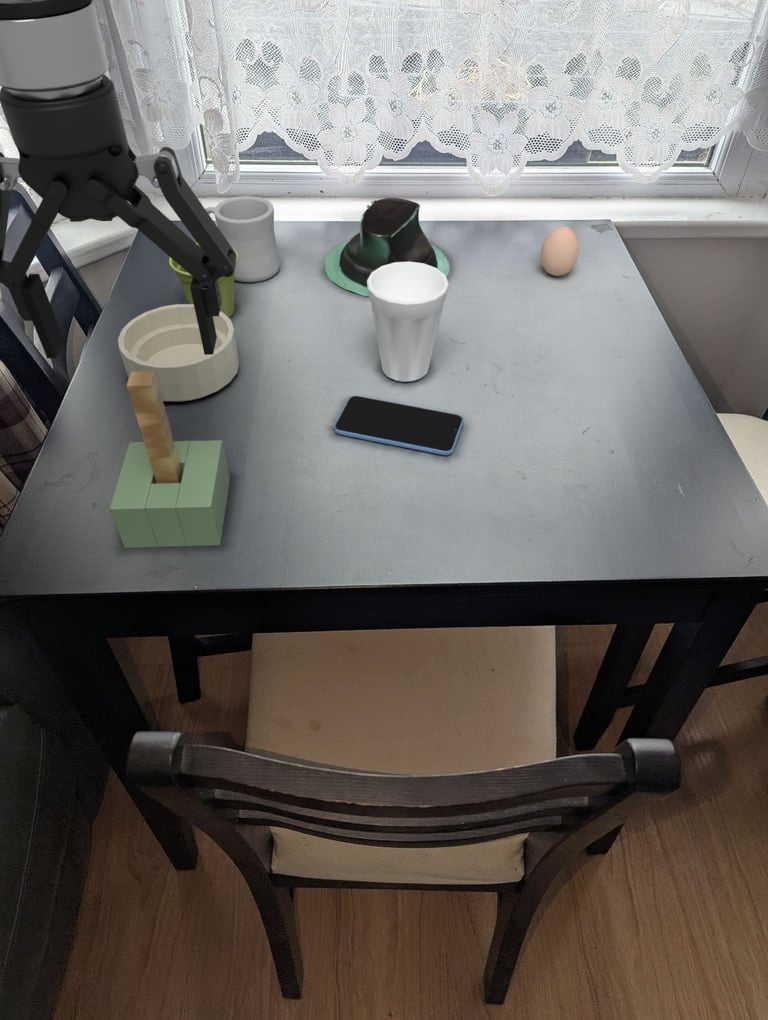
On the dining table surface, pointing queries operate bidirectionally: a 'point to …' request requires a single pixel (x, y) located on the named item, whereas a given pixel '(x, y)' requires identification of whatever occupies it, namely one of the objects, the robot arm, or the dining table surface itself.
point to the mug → (249, 236)
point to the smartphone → (399, 425)
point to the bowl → (179, 352)
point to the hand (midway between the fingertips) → (133, 348)
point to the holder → (172, 498)
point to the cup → (406, 316)
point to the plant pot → (224, 285)
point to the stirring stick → (154, 426)
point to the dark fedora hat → (382, 245)
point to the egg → (560, 251)
